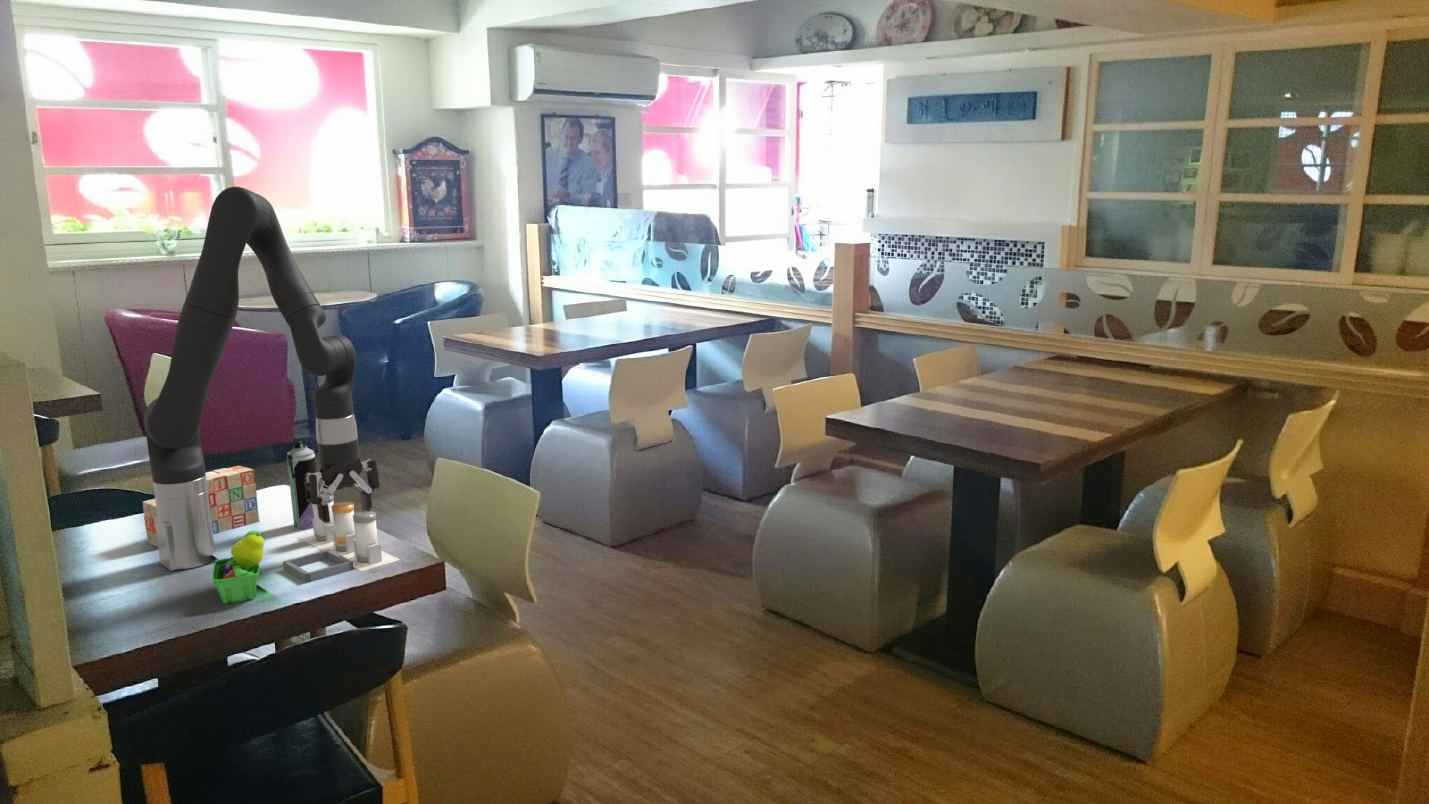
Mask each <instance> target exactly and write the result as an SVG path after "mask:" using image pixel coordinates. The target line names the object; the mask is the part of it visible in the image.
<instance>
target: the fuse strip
mask: <svg viewBox="0 0 1429 804" xmlns="http://www.w3.org/2000/svg"><path fill="white" fill-rule="evenodd" d="M312 529H313V532H312V533H309V534H304V535H300V536H297V539H299V540H301V541H303V542H305V543H307V544H309V545H311V546H313V547H314V548H317V549H318V550H320V551H324V550H328V549H330V550H332V551H333V552H335V553H337V554H339V555H341V556H343V557H345V558H347V559H349V560H351V561H353V568H354V569H356V570H357V571H359V572H364V571H367V570H371V569H374V568H377V567H380V566H381V567H382V566H384V565H387V564H391V563H395V562H399V561H401V559H400V558H397V557H396V556H394V555H392V554H389V553H387V552H385V551H383V550H382V546H381V543H379V542H378V543H377V544H374V545H370V546H367V553H368V563H360V562H358V561H357V556H356V555H357V550H356V539H355V533H353V534H350V535H346V536H345V540H346V550H347V552H339V551H336V547H335V544H336V542H335V531H334V523H333V524H329V525H325V534H326V541H317V540H316V537H315V534H316V531H315V522H314V519H313V528H312Z"/></svg>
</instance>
